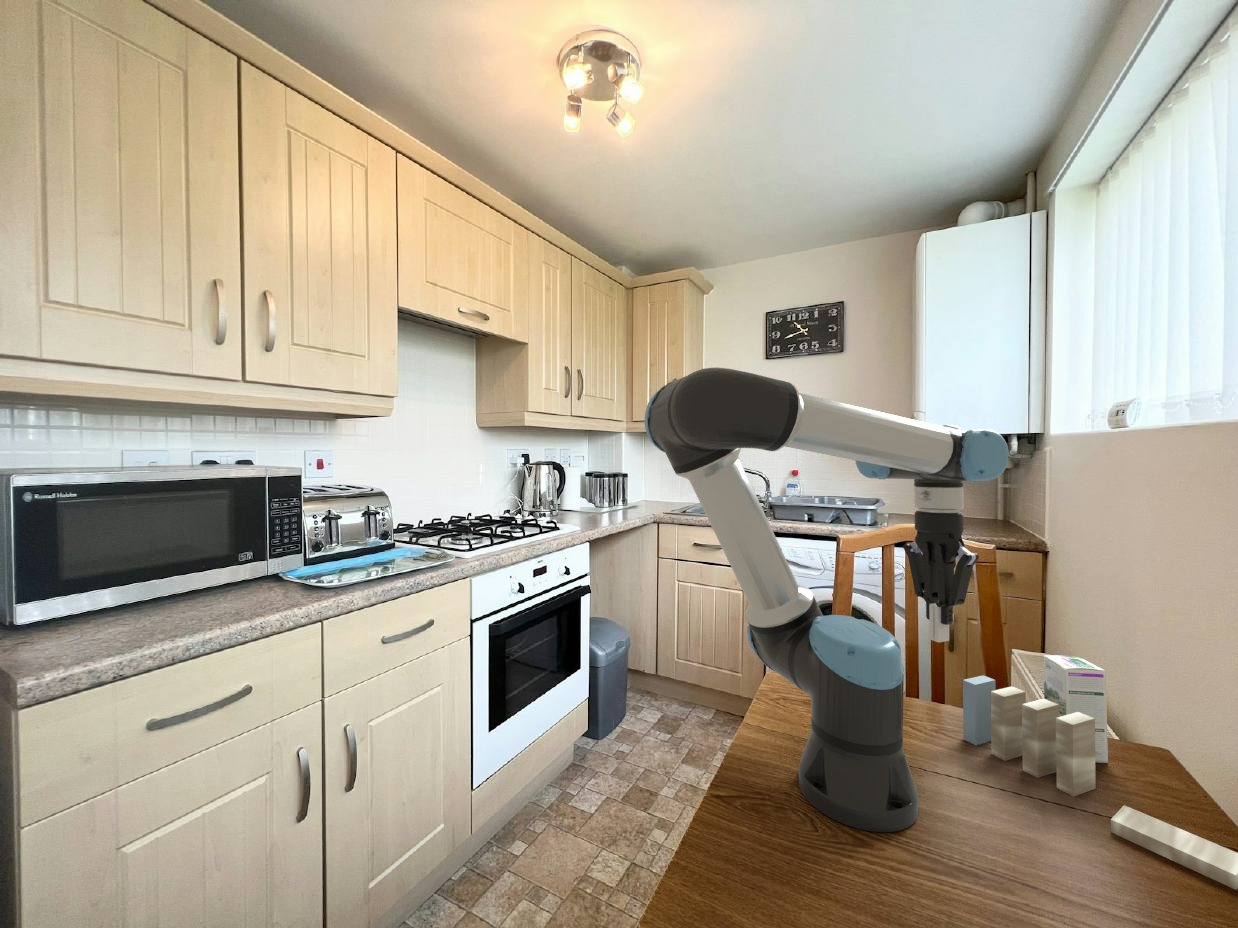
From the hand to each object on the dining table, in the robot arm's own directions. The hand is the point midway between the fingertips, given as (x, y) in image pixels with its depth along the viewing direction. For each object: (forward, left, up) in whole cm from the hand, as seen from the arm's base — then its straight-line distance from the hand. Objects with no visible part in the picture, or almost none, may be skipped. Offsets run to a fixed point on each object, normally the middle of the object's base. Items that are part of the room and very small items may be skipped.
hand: (939, 639), depth 90 cm
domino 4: (+14, -15, -14) cm, 25 cm away
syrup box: (+18, -3, -15) cm, 23 cm away
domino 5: (+16, -22, -14) cm, 30 cm away
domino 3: (+11, -11, -14) cm, 22 cm away
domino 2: (+8, -8, -14) cm, 18 cm away
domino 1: (+5, -5, -14) cm, 16 cm away
